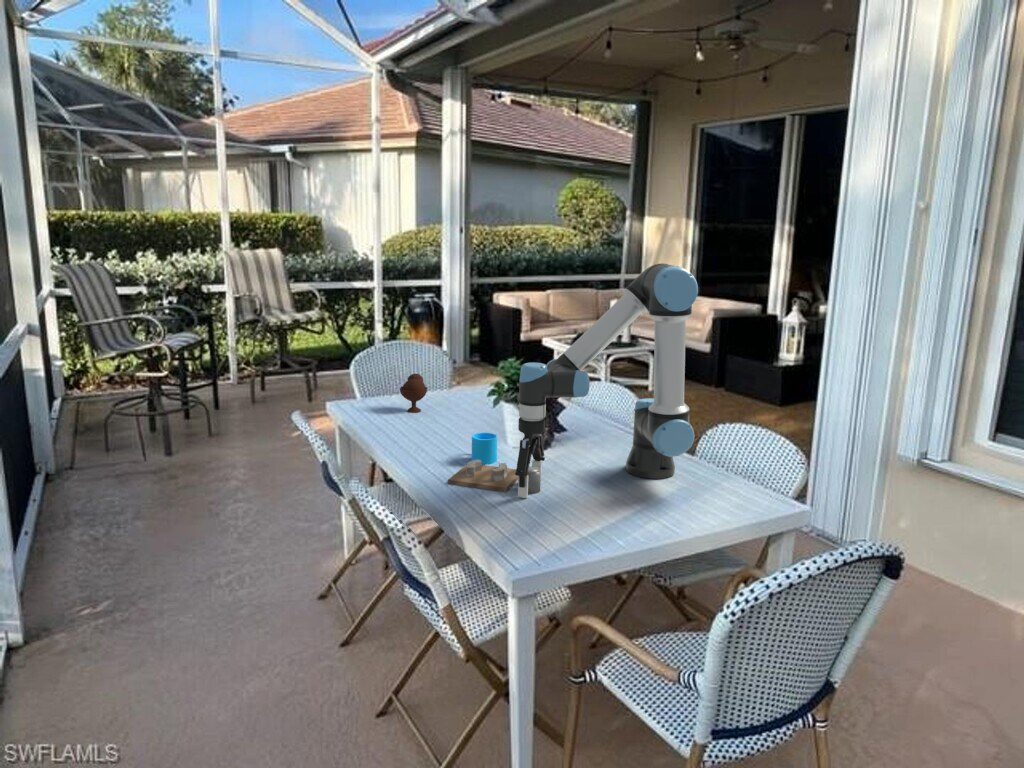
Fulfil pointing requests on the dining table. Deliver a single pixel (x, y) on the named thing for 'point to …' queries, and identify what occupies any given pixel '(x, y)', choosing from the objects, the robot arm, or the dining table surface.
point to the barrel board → (485, 476)
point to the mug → (484, 447)
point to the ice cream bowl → (414, 391)
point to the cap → (534, 480)
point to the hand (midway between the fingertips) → (529, 489)
